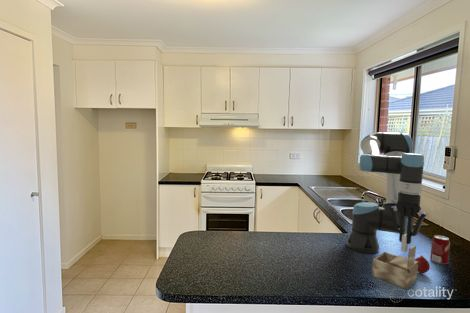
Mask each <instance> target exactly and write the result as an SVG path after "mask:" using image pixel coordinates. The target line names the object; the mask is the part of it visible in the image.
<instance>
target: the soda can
mask: <svg viewBox="0 0 470 313" xmlns="http://www.w3.org/2000/svg"><path fill="white" fill-rule="evenodd" d="M450 248H451V242H450V239H449V237H447V236H444V235H440V234H435V235H433V238H432V239H431V249H430V258H429V260H430V261H432V262H433V263H435V264H438V265H447V264H449V256H450V250H451V249H450Z"/></svg>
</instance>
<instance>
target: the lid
mask: <svg viewBox="0 0 470 313" xmlns="http://www.w3.org/2000/svg"><path fill="white" fill-rule="evenodd" d="M416 250H417V245H416V244H413V245H412V246H410V247H409V248H408V250H407V252H408V254H407V257H405V256H403V255H396V256H397V257H396V258H394V259H393V260H392V261H390V264H393V265H395V266H398V267H401V268H404V269H407V270H410V269H411V268H412V267H414V266H415V265H416V264H417V263H418V261H415V259H416V253H417V252H416Z"/></svg>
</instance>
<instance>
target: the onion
mask: <svg viewBox="0 0 470 313" xmlns="http://www.w3.org/2000/svg"><path fill="white" fill-rule="evenodd" d="M415 261H418V262H420V264H419V265H418V272H417V273H418V274H420V275H422V274H426V273H427V272H428V271H429V270H431V269H430V268H431V265H430V262H429V261H428V260H427V258H425V257H424V255H422V254H421V255H419V256H418V257H415Z"/></svg>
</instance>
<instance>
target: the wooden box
mask: <svg viewBox="0 0 470 313" xmlns="http://www.w3.org/2000/svg"><path fill="white" fill-rule="evenodd" d="M397 256H398V255H396V254H392V253H389V252H388V251H387V252H386V251H384V252H382V253H380V254H379V255H377V256H376V257H374V258H373V259H372V266H371V267H372V268H371V276H372V277H374V278H377V279H379V280H382V281H384V282H387V283H390V284H391V285H394V286H397V287H400V288H402V289H404V288H405V289H404V290H408V289H409V288H410V287H411V286H412V285H413V284H414V283H415V282H416V281H417V280H418V273H419V272H418V265H419V264H420V262H418V263H417V264H416V265H415V266H414V267H412V268H411V269H410V270H407V269H404V268H401V267H398V266H395V265H393V264H390V261H392V260H393V259H394V258H396V257H397ZM413 282H414V283H413ZM412 283H413V284H412ZM411 284H412V285H411ZM409 286H410V287H409ZM408 287H409V288H408ZM407 288H408V289H407Z"/></svg>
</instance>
